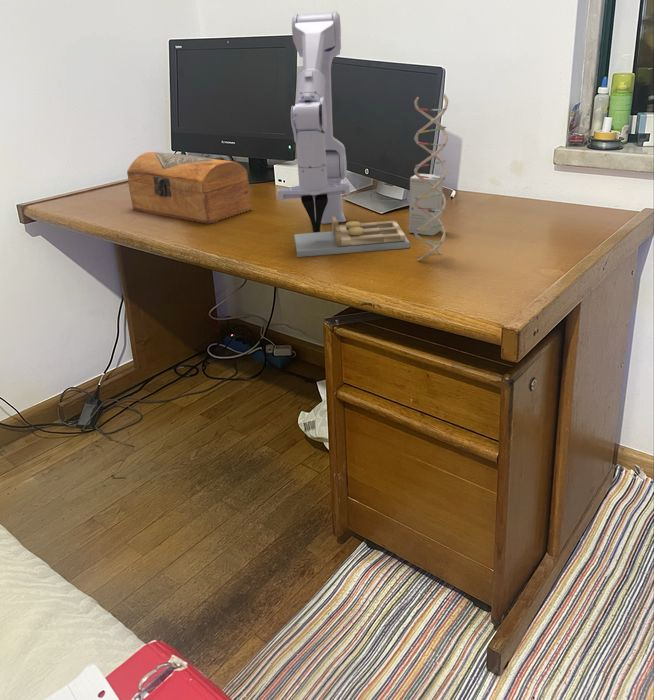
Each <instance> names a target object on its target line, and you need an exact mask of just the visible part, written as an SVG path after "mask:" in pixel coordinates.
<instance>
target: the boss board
mask: <svg viewBox="0 0 654 700" xmlns="http://www.w3.org/2000/svg"><path fill="white" fill-rule="evenodd" d="M360 223H361V222H360V221H357V220H356V221H353V220H352V221H346V222H345V225H346V228H348V232H349V234H350V235H352V236H360V234H363V228H360ZM293 235H294V236H293V237H294V243H295V250H296V256H297V258H303V257H312V256H313V257H314V256H326V255H329V256H330V255H341V254H350V253H364V252H373V251H387V250H401V249H410V244H411V243H410V241H409V239H408V238H407V236H406V235H405V241H397V242H384V243H372V244H360V245H348V246H337V243H336V240H335V237H334V234H333V231H332V230H331V231H320V232H315V233H314V232H309V233H308V232H307V233H306V232H305V233H297V234H293Z"/></svg>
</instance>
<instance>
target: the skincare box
mask: <svg viewBox="0 0 654 700" xmlns="http://www.w3.org/2000/svg"><path fill="white" fill-rule="evenodd" d="M418 174H419V175H420V176H426V177H429V178H425V179H427V180H428V181H430V182H431V183H433V184H434V185H435V184H436V183H438V182H439V181H440V180H439V179H431V178H432V177H436V178H442V177H443V175H439V174H432V173H431V174H430V173H429V174H428V173H418ZM443 183H444V181H443V182H442V183H441V184H440V185H439V186H438V187H437V188H439V189H440V190H441V191H442V192H443ZM431 187H432V186H430V185H429V184H427V183H426V182H424V181H423V180H421V179H420V178H418V177H417V176H416V175H415V174H414V175H412V176H410V178H409V213H408V232H409V234H414V232H415V229H418V228H420V227H421V226H423V225H424V224H426V223H427V222H429V221H430V219H433V218H432V217H429V215H427V214H426V213H424V212H422V211H421V210H419V209H418V208H416V207H415V205H414V201H415V200H416V199H415V198H418V197H419V196H421V195H422V194H423V193H425V192H426V191H428V190H430V189H431ZM435 194H439V193H438V192H437V191H436V190H435V189H434V190H433V191H431V192H430V193H428V194H427V195H425V196H424V197H426V196H431V195H435ZM442 202H443V199H442V197H441V195H438V196H433V197H428V198H424V199H420V200H419V201H418V202H417V204H418V205H419V206H420V207H421V208H428V210H426V209H424V210H426V211H428V212H429V213H431V214H433V215H434V216H436V215H437V214H438V213H439V212H437V211H432V210H431V209H435V210H442V207H443V204H442ZM438 219H439V220H440V222H441V223H442V214H441V215H440V217H439V218H438ZM438 225H439V223H438V222H437V221H436V220H435V221H434V222H433V223H431V224H430V225H428V226H426V227H425V228H430V227H434V226H438ZM425 228H423V229H425ZM440 231H442V228H441V227H436V228H431V229H427V230H422V231H418V233H417V235H424V236H435V235H437V234H438V233H439V232H440Z"/></svg>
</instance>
